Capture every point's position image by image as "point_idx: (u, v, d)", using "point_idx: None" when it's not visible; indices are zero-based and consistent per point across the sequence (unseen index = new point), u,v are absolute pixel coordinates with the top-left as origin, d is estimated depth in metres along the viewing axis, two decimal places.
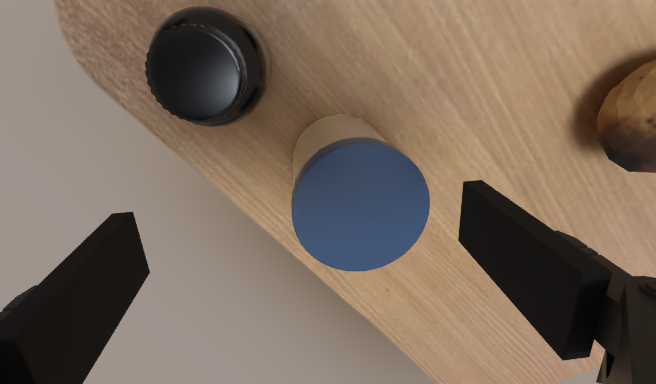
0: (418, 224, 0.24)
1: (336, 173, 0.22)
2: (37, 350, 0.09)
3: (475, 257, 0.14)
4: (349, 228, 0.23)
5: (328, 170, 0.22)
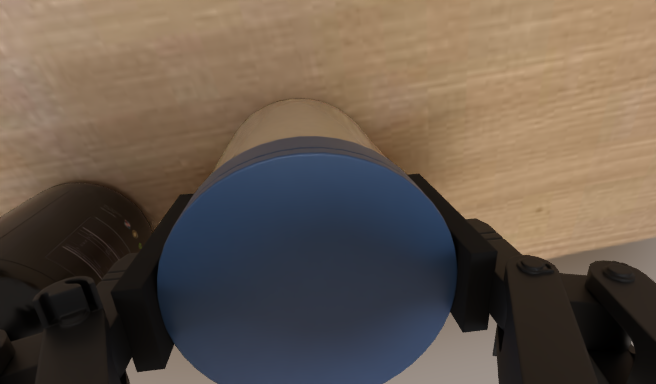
0: (416, 210, 0.10)
1: (204, 306, 0.10)
2: (152, 301, 0.10)
3: None
4: (331, 329, 0.11)
5: (191, 315, 0.11)
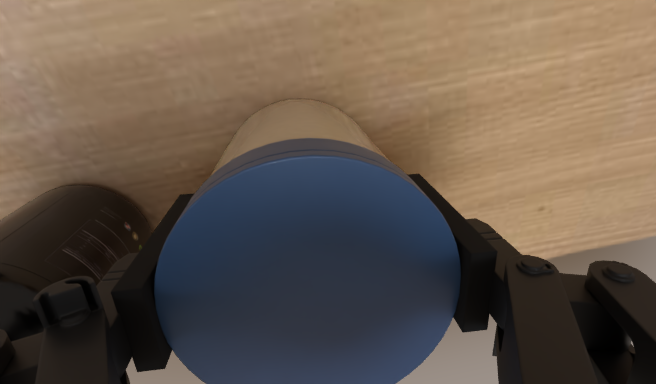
0: (200, 223, 0.09)
1: (323, 382, 0.12)
2: (152, 301, 0.10)
3: None
4: (355, 282, 0.10)
5: None
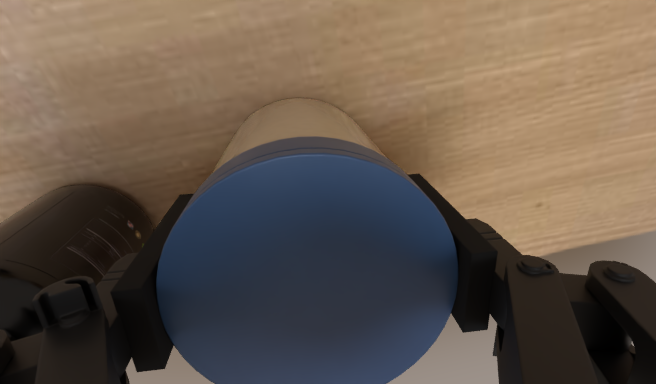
0: (235, 382, 0.12)
1: (418, 279, 0.11)
2: (152, 301, 0.10)
3: None
4: (287, 266, 0.10)
5: (430, 268, 0.11)
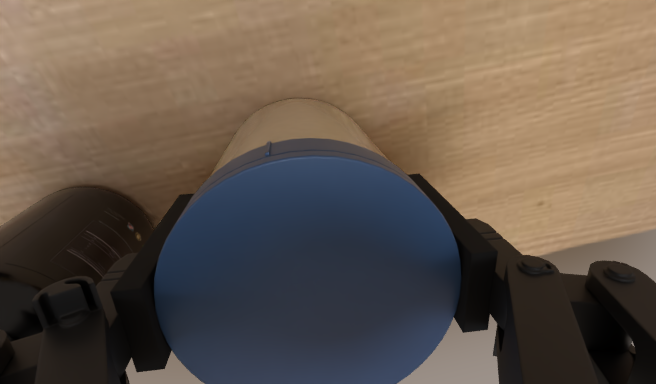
0: (414, 355, 0.12)
1: (286, 206, 0.09)
2: (152, 301, 0.10)
3: None
4: (276, 327, 0.11)
5: (271, 195, 0.09)
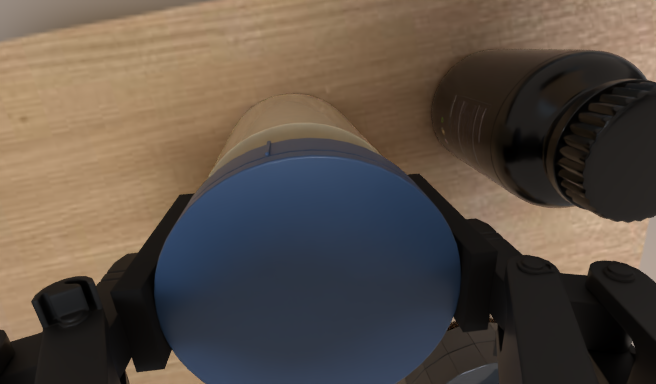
0: (414, 355, 0.12)
1: (286, 206, 0.09)
2: (152, 301, 0.10)
3: None
4: (276, 326, 0.11)
5: (271, 195, 0.09)
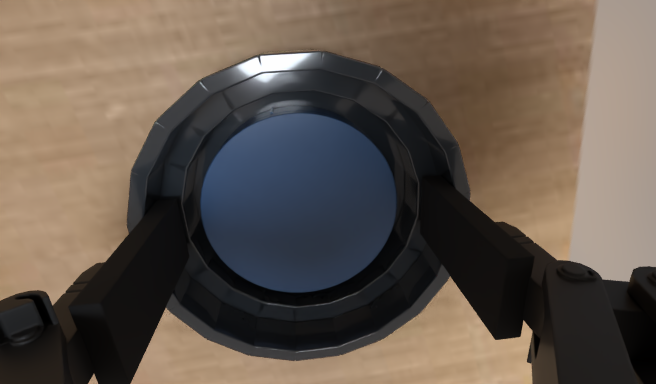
0: (369, 252, 0.17)
1: (283, 145, 0.15)
2: (115, 315, 0.09)
3: (432, 248, 0.15)
4: (277, 228, 0.17)
5: (274, 137, 0.15)
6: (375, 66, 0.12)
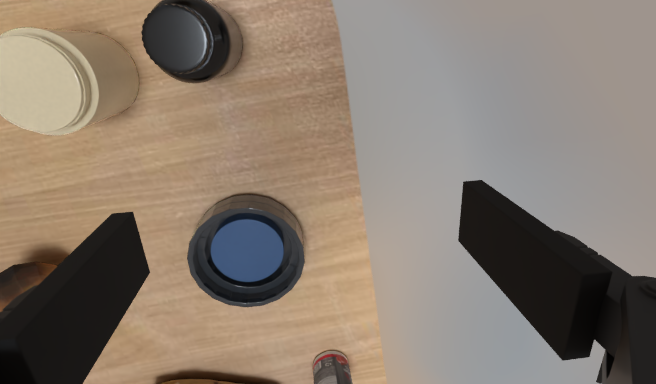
0: (274, 266, 0.46)
1: (239, 229, 0.43)
2: (37, 350, 0.09)
3: (475, 257, 0.14)
4: (239, 257, 0.45)
5: (236, 227, 0.43)
6: (265, 211, 0.41)
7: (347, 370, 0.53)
